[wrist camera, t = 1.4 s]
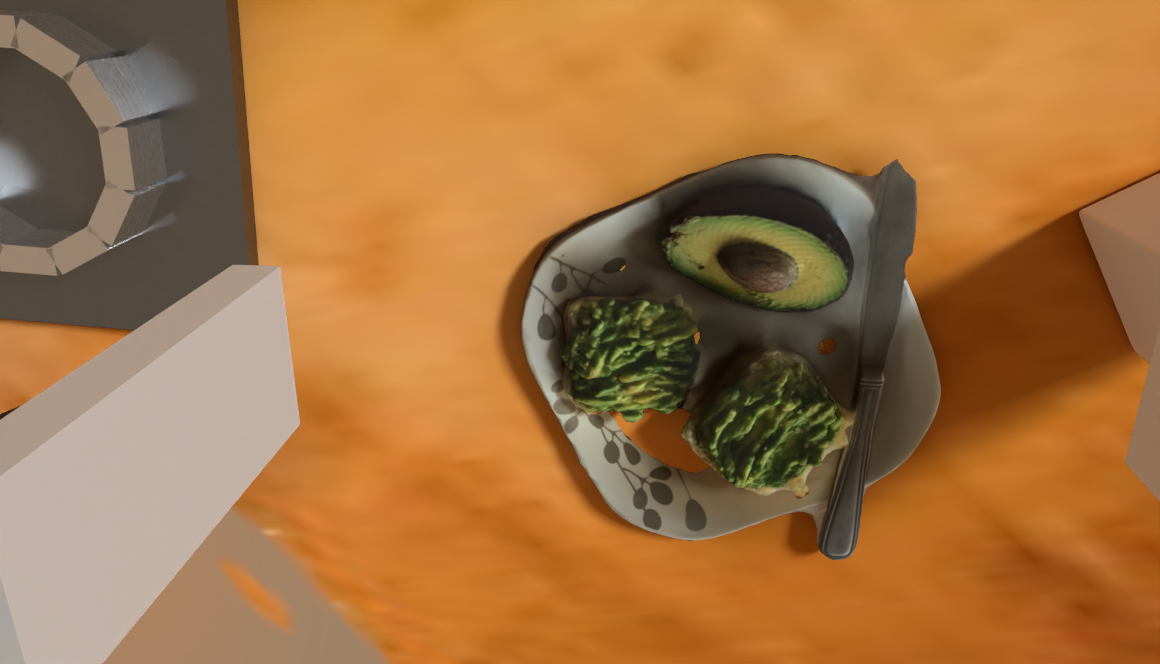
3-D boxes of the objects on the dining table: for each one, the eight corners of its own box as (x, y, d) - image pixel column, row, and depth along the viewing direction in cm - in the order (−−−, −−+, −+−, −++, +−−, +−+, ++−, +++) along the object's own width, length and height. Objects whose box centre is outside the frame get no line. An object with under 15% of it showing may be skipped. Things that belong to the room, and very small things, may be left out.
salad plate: (1006, 485, 42) (1044, 542, 38) (649, 594, 46) (647, 657, 42) (878, 91, 36) (906, 106, 32) (483, 255, 40) (461, 288, 36)
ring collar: (-171, -88, 37) (-251, -94, 34) (231, -65, 36) (188, -69, 33) (-81, 302, 43) (-142, 329, 40) (263, 332, 42) (230, 362, 39)
